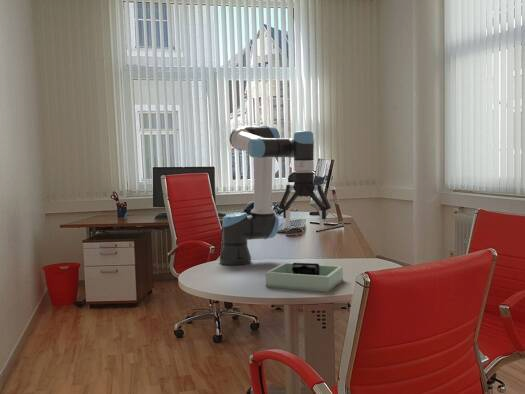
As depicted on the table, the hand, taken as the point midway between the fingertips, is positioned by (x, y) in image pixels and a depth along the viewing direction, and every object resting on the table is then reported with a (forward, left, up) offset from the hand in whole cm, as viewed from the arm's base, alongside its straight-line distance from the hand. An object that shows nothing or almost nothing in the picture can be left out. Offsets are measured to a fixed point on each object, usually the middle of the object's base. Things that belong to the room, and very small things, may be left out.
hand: (304, 227), depth 194 cm
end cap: (0, 0, -21) cm, 21 cm away
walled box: (0, 0, -22) cm, 22 cm away
